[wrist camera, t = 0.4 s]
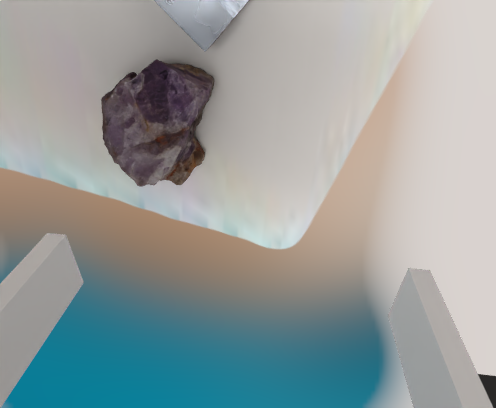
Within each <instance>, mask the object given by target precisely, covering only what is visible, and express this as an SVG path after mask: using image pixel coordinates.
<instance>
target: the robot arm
mask: <svg viewBox="0 0 496 408" xmlns="http://www.w3.org/2000/svg"><path fill="white" fill-rule="evenodd" d="M82 284H83V279H82V277H81V274H80V272H79V269H78V266H77V263H76V261H75V258H74V255H73V253H72V250H71V247H70V244H69V242H68V239H67V237H66V235H62V234H51V233H47V234H46V235H45V236H44V237H43V238H42V239H41V240H40V242H39V243H38V244H37V245H36V246H35V247H34V248H33V249H32V250H31V251H30V252H29V253H28V255H27V256H26V257H25V258H24V259H23V260H22V261H21V262H20V263H19V264H18V265H17V266H16V267H15V269H14V270H13V271H12V272H11V273H10V274H9V275H8V276H7V277H6V278H5V279H4V281H3V282H2V283H1V284H0V407H1V406H2V405H3V403H4V402H5V400H6V399H7V397H8V396H9V394H10V393H11V391H12V389H13V388H14V387H15V385H16V383H17V382H18V381H19V379H20V378H21V376H22V375H23V373H24V372H25V370H26V369H27V367H28V365H29V364H30V363H31V361H32V360H33V358H34V356H35V355H36V353H37V352H38V350H39V349H40V347H41V346H42V344H43V343H44V341H45V340H46V338H47V337H48V335H49V334H50V332H51V331H52V329H53V328H54V326H55V325H56V323H57V322H58V320H59V319H60V317H61V316H62V314H63V313H64V311H65V310H66V308H67V307H68V305H69V304H70V302H71V301H72V299H73V298H74V296H75V295H76V293H77V292H78V290H79V289H80V287H81V286H82ZM388 317H389V321H390V324H391V328H392V332H393V335H394V339H395V342H396V346H397V349H398V353H399V357H400V360H401V364H402V367H403V371H404V375H405V378H406V382H407V385H408V389H409V393H410V396H411V400H412V403H413V407H414V408H496V376H489V375H481V374H477V371H476V369H475V367H474V365H473V363H472V361H471V358H470V356H469V354H468V352H467V350H466V348H465V345H464V343H463V341H462V339H461V337H460V335H459V332H458V330H457V328H456V326H455V324H454V321H453V319H452V317H451V315H450V313H449V310H448V308H447V306H446V304H445V302H444V300H443V297H442V295H441V293H440V291H439V289H438V287H437V285H436V282H435V280H434V278H433V276H432V274H431V271H430V270H422V269H411V268H408V271H407V273H406V275H405V277H404V280H403V282H402V284H401V286H400V289H399V291H398V293H397V296H396V298H395V300H394V302H393V305H392V307H391V309H390V312H389V314H388Z"/></svg>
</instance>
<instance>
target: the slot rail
mask: <svg viewBox="0 0 496 408" xmlns="http://www.w3.org/2000/svg"><path fill="white" fill-rule="evenodd" d="M154 1H155V2H156V3H157V4H158V5H159V6H160V7H161V8H162V9H163V10H164V11H165V12H166V13H167V14H168V15H169V16H170V17H171V18H172V19H173V20H174V21H175V22H176V23H177V24H178V25H179V26H180V27H181V28H182V29H183V30H184V31H185V32H186V33H187V34H188V35H189V36H190V37H191V38H192V39H193V40H194V41H195V42H196V43H197V44H198V45H199V46H200V47H201V48H202V49H203V50H204V51H206V50H207V49H208V48H209V47H210V46H211V45H212V44H213V43H214V42H215V40H216V39H217V38H218V37H219V36H220V34H221V33H222V32H223V31H224V30H225V28H226V27H227V26H228V25H229V24H230V22H231V21H232V20H233V19H234V18H235V17H236V15H237V14H238V13H239V12H240V11H241V9H242V8H243V7H244V6H245V5H246V3H247V2H248V1H249V0H154Z"/></svg>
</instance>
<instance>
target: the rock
mask: <svg viewBox="0 0 496 408" xmlns="http://www.w3.org/2000/svg"><path fill="white" fill-rule="evenodd" d="M213 86H214V79H213V77H212V76H210V75H208V74H207V73H206V72H205V71H203V70H201V69H199V68H195V67H193V66H192V65H181V64H167V63H164V62H162V61H159V60H155V61H154V62H152V63H151V64H150V65H149V66H148V67H146V68H145V69H144V70H142V72H141V73H139V74H138V75H137V74H136V73H134V72H132V73H129V74H128V75H126V77H125V78H124V79H122V80H120V82H119V83H118V84H117V85H116V86H115V88H114V89H113V90H112V91H110V92H108V93H107V94H106V95H104V96H103V97H102V99H101V101H102V113H103V126H102V129H103V140H104V142H105V143H104V144H105V146H106V147H107V149H108V152H109V154H110V155H111V156H112V158H113V160H114V162H115V163H117V164H119V165H120V167H121V169H122V170H123V171H124V172H125V173H126V174H127V175H128V176H129V177H131V178H132V179H133V180H134V181H135V182H136V184H137V185H138V186H145V185H147V184H150V185H155V184H156V183H157V182H158V181H159V180H160V181H161V180H169V181H172V182H173V183H174V184H176V185H182V184H183V183H184V182H185V181H186V180H187V178H188V177H189V176H190V174H191V172H192V171H193V169H194V168H195V167H196V166H198V165H200V164H201V163H202V161H203V160H204V151H203V149H202V148H201V146H200V144H199V142H198V141H197V140H196V139H195V138H194V136H193V135H194V131H195V129H196V126H197V125H198V124H199V122H200V121H201V119H202V111H203V109H204V107H205V104H206V102H208V100H209V98H210V96H211V91H212V89H213Z"/></svg>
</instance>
